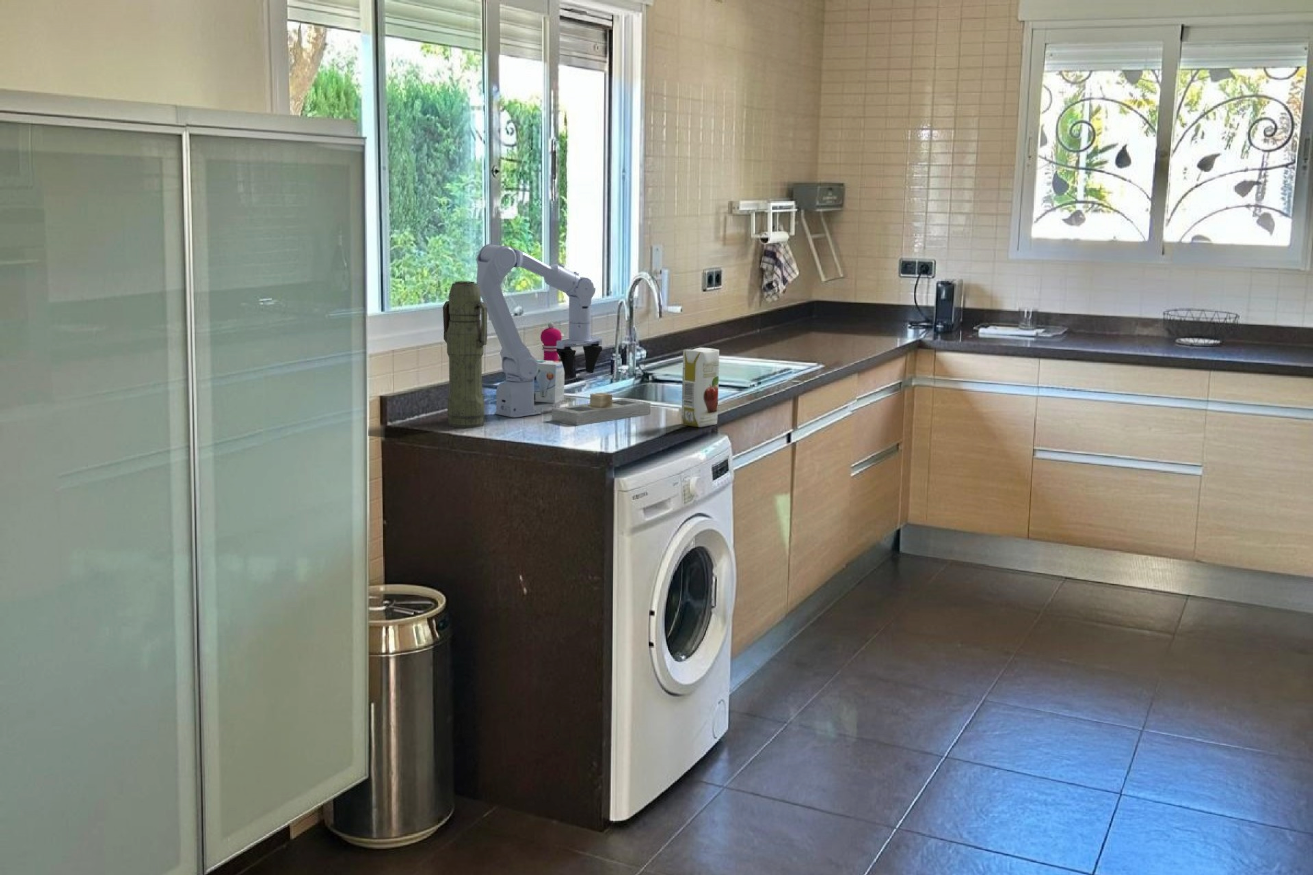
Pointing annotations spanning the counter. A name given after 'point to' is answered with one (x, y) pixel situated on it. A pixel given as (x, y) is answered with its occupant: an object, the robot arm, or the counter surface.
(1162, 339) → the counter surface
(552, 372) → the light bulb box
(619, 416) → the rail
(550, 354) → the pepper mill
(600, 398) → the peg
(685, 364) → the juice carton
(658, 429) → the counter surface
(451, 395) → the thermos
